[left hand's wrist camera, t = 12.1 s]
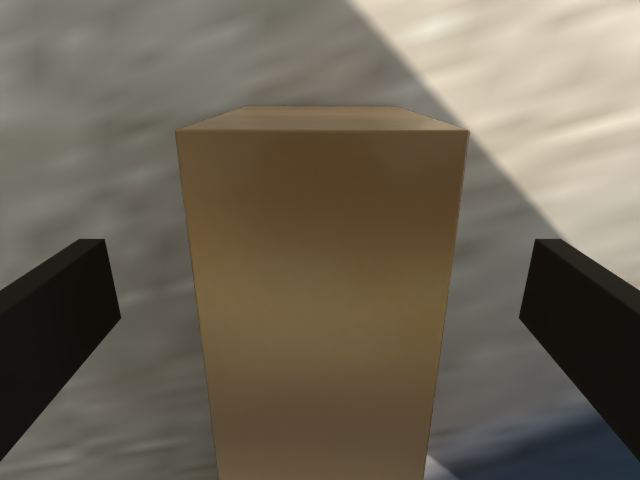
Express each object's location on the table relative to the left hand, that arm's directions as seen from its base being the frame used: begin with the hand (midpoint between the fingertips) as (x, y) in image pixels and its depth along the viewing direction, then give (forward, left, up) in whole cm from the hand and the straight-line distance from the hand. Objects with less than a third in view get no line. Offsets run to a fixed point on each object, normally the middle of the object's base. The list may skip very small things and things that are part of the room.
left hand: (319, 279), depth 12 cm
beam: (+3, +28, -4) cm, 29 cm away
